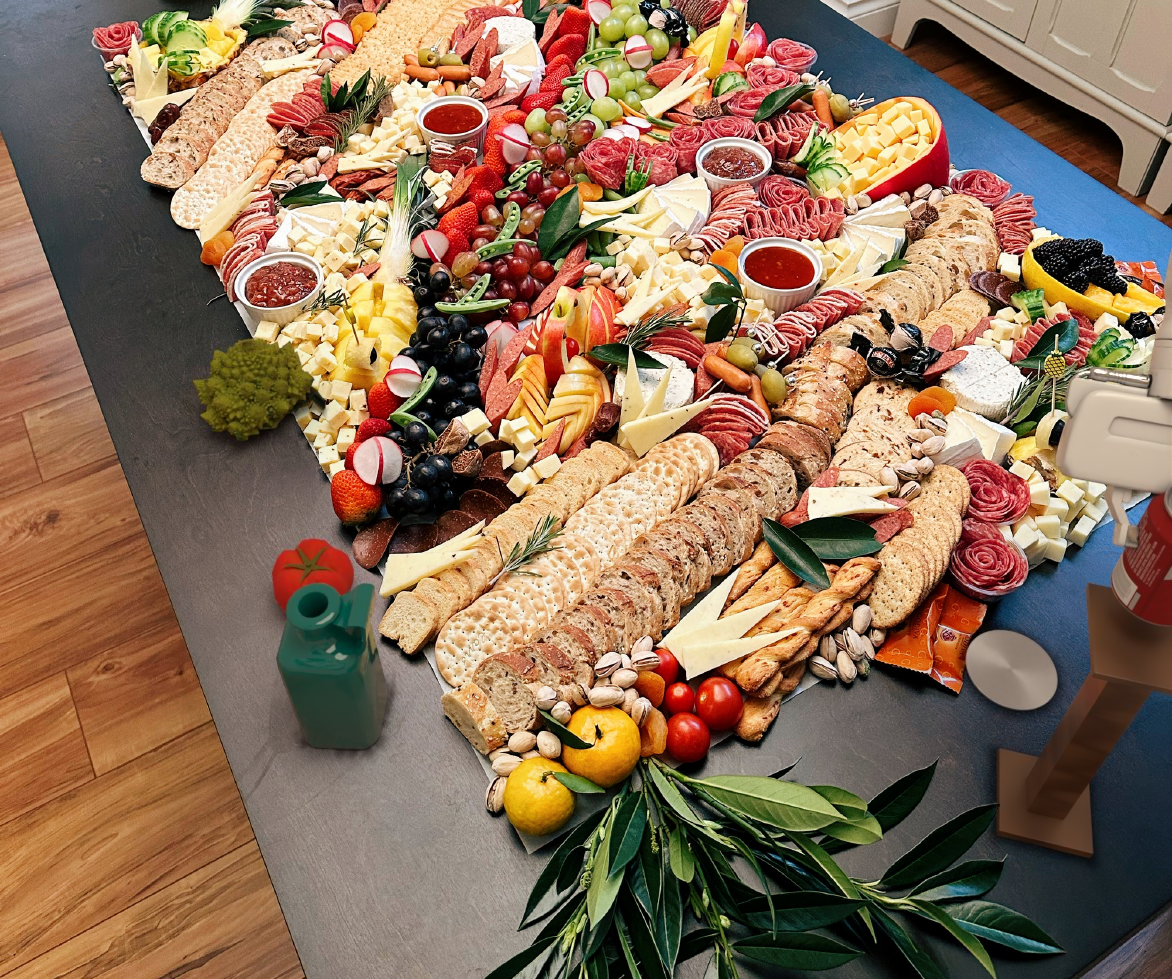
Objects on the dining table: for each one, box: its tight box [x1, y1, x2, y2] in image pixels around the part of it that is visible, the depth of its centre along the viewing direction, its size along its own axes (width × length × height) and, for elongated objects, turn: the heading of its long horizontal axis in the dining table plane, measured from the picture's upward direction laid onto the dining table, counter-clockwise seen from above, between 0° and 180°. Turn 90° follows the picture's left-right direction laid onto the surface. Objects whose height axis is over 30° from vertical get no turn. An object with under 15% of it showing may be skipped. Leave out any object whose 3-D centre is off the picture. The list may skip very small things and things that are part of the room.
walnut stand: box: [996, 582, 1172, 859], centre depth 105 cm, size 9×9×32 cm
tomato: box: [271, 537, 355, 614], centre depth 132 cm, size 9×9×8 cm
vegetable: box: [192, 337, 328, 442], centre depth 153 cm, size 15×16×15 cm
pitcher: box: [275, 582, 389, 750], centre depth 116 cm, size 10×8×22 cm
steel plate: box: [964, 629, 1059, 712], centre depth 127 cm, size 10×10×1 cm
